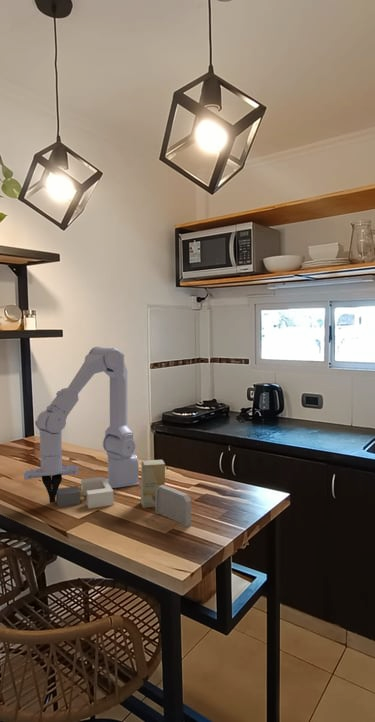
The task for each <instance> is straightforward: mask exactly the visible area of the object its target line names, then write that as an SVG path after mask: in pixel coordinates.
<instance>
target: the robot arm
mask: <svg viewBox="0 0 375 722" xmlns="http://www.w3.org/2000/svg"><path fill="white" fill-rule="evenodd" d="M102 372H103V373H104V374H106V375H107V376H108V377H109V426H108V427H107V428H106V429H105V431H104V433H105V434H104V438H103V440H102V448H103V450H104V451H105V452H106V455H107V478H106V480H107V482H108V483H109V485H110V486H111V488H112V489H114V488H115V489H116V488H124V487H130V486H138V485H140V482H139V477H140V476H139V458H138V455H137V454H134V452H135V450H136V446H137V445H136V441H135V439H134V433H133V431H132V430H131V428H129V425H128V369H127V366H126V363H125V354H124V353H123V352H122V351H121V350H120V349H118V348H117V347H101V346H94V347H92V348H91V349H89V352H88V353H87V354H86V355H85V357H84V361H83V364H82V365H81V366H80V368H79V370H78V371H77V373H76V375H75V376H74V377H73V378H72V380H71V382H70V384H69V385H68V387H65V388H61V389H60V390H58V391H57V392H56V393H55V395H56V396H55V397H54V399H53V400H52V402H51V403H50V404H49V405H47V406H46V409H45V410H44V411H41V412H40V413H39V415H38V416H37V419H36V420H35V426H36V428H37V429H38V431H39V445H40V446H39V449H40V455H39V456H40V467H39V468H35V469H30V470H23V479H24V481H28V480H29V479H31V480H32V479H38V478H39V479H40V478H41V481H42V483H43V485H44V487H45V489H46V492H47V494H48V497H49V503H55V502H56V493H57V490H58V488H59V486H60V485H61V483H62V480H63V477H62V476H65V475H73V474H75V475H78V474H79V466H78V465H77V464H76V465H63V449H62V448H63V447H62V430H64V429H65V427H66V424H67V418H68V416H69V414H71V411H72V410H73V409H74V407H75V406H76V405H77V403H78V402H79V393H80V392H81V391H82V389H83V388H84V387H85V386H86V385H87V384H88V383H89V382H90V380H91V379H92V378H93V376H94V375H95V374H100V373H102Z"/></svg>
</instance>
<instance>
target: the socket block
mask: <svg viewBox="0 0 375 722" xmlns="http://www.w3.org/2000/svg"><path fill="white" fill-rule="evenodd" d="M106 479H107V478H106V477H105V476H98V477H91V478H81V479H80V485H81V486H80V488H81V489H80V491H83V494H82V495H83V496H86V507H87V509H95V508H102V507H109V506H114V504H115V503H114V501H115V500H114V489H113V488H111V486H110V485H109V483H108V482H107V480H106ZM83 496H82V497H83Z"/></svg>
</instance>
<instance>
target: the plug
mask: <svg viewBox="0 0 375 722" xmlns="http://www.w3.org/2000/svg"><path fill="white" fill-rule="evenodd" d="M82 494H83V491H81V490H80V488H79V486H78V485H75V486H67V487H60V488H59V487H58V490H57V493H56V497H55V502H56V503H57V508H61V507H69V506H75V505H76V506H77V505H81V501H85V497H84V496H83V495H82Z"/></svg>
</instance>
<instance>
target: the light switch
mask: <svg viewBox="0 0 375 722" xmlns="http://www.w3.org/2000/svg"><path fill="white" fill-rule="evenodd" d="M154 509H155V511H154V512H155V513H154V514H156V515H162V516H164V517H166V518H168V519H170V520H173V521H175V522H176V523H179V524H181V525H182V526H183V527H186V528H188V527H190V526H192V499H191V498H190V496H189V494H188V493H187V492H183V491H180V490H178V489H176V488H173V487H170V486H169V485H161V486H158V487H157V489H156V490H155V507H154Z"/></svg>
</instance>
